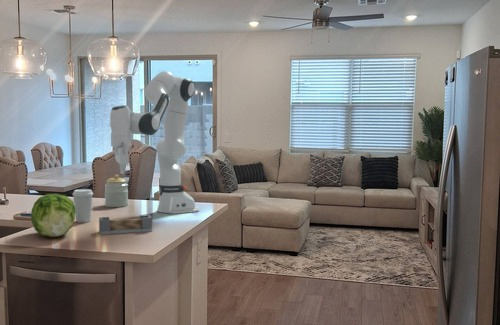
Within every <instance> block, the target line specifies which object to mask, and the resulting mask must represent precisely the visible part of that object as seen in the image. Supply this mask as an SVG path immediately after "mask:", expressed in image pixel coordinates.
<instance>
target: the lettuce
mask: <svg viewBox="0 0 500 325" xmlns="http://www.w3.org/2000/svg"><path fill="white" fill-rule="evenodd" d="M30 215H31V216H30V222H31V223H32V226H33V228H34V230H35V231H36V232H37V233H38V234H40V235H41V236H43V237H48V238H57V237H58V238H59V237H61V236H63V235H66V234H67V233H68V232H69V231H70V230H71V229H72V226H73V224H74V222H75V221H76V214H75V205H74V200H73V199H71V198H69V197H68V196H67V195H65V194H59V193H46V194H45V195H42V196H40V197H38V199H37V200H36V201H35V202H34V203H33V206H32V208H31V214H30Z"/></svg>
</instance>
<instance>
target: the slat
mask: <svg viewBox="0 0 500 325" xmlns="http://www.w3.org/2000/svg"><path fill="white" fill-rule="evenodd" d="M126 229H142V218H140V217H139V218H123V219H110V230H126Z"/></svg>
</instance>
